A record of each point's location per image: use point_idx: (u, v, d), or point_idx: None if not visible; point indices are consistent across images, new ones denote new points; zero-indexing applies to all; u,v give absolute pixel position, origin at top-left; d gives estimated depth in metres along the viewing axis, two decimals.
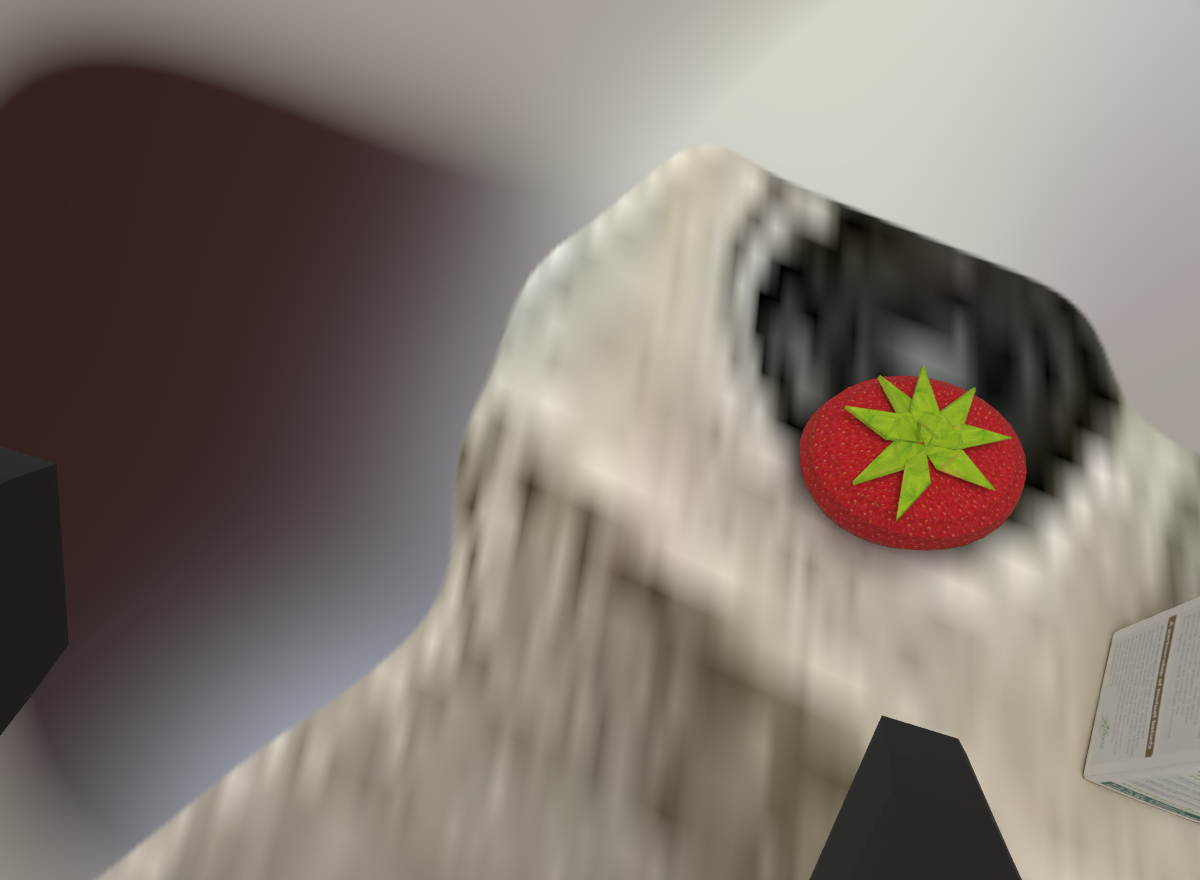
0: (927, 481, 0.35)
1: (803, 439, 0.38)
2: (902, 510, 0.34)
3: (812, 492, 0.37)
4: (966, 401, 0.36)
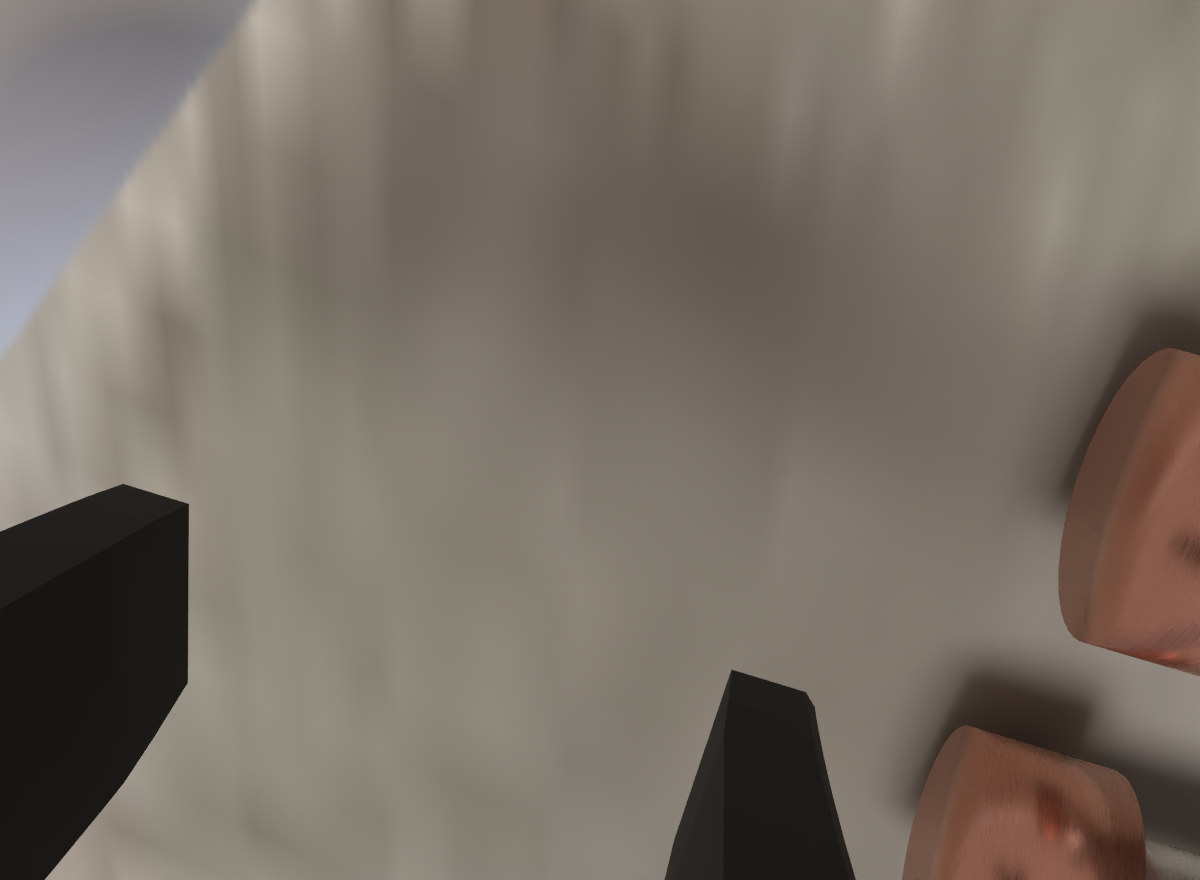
0: None
1: None
2: None
3: None
4: None
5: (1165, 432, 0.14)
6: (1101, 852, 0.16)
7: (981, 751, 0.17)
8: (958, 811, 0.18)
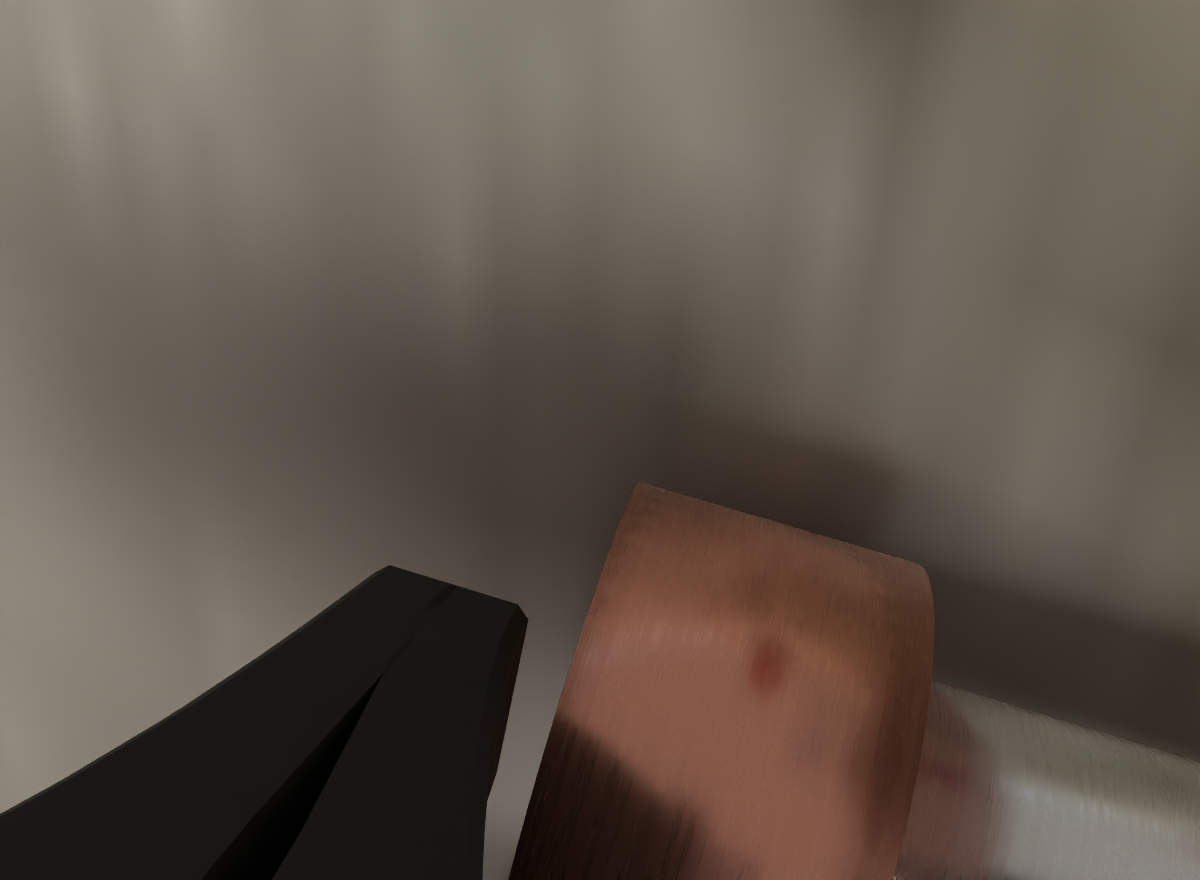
0: None
1: None
2: None
3: None
4: None
5: None
6: None
7: None
8: None
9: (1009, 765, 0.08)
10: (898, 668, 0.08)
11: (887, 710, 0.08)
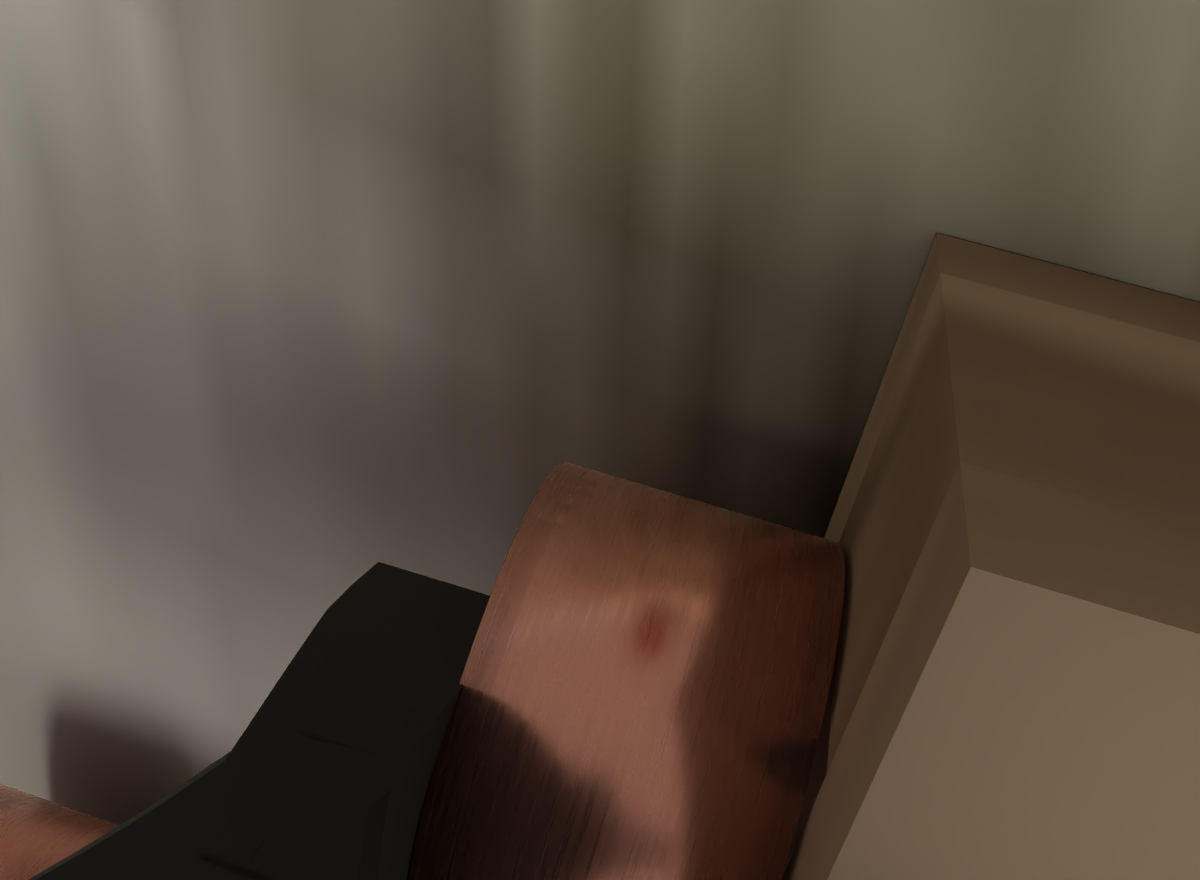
0: None
1: None
2: None
3: None
4: None
5: None
6: None
7: None
8: None
9: None
10: (802, 642, 0.08)
11: (789, 684, 0.08)
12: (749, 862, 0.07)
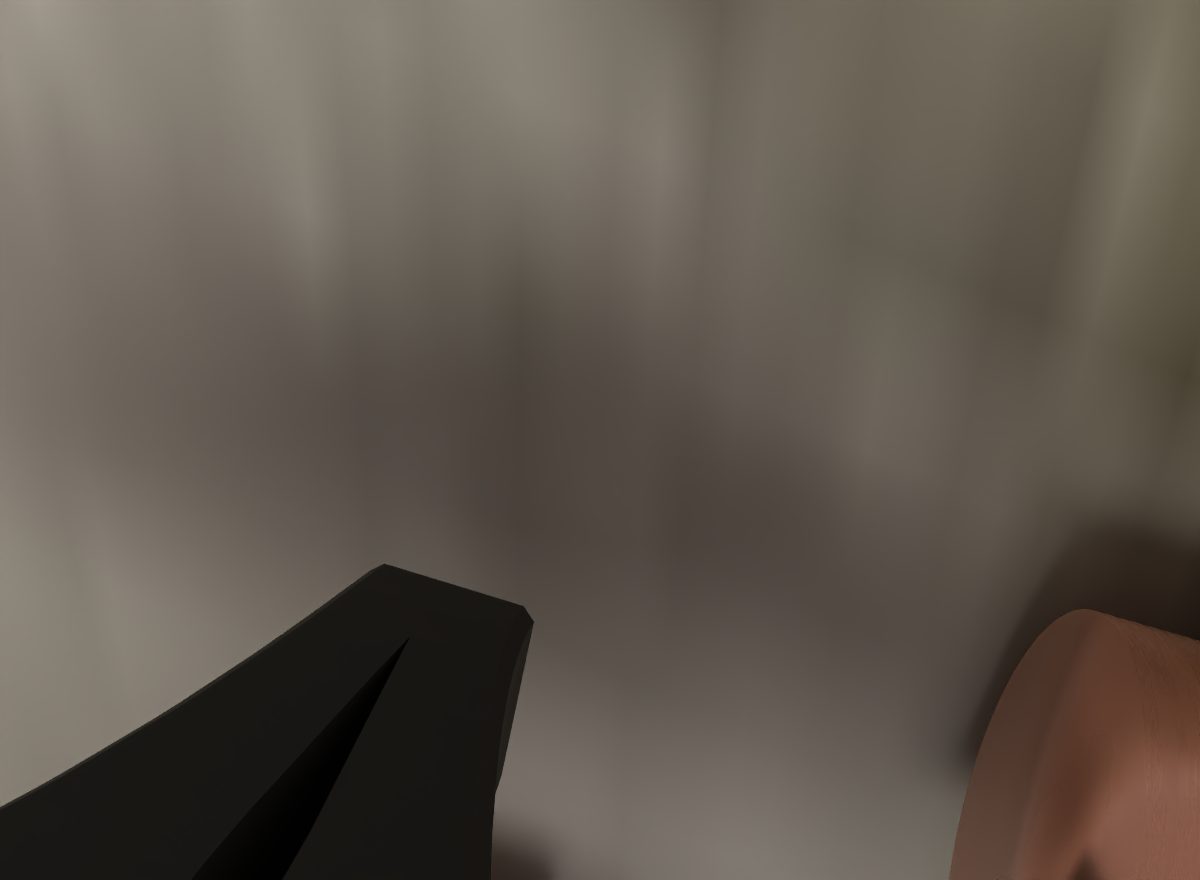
0: None
1: None
2: None
3: None
4: None
5: (1091, 778, 0.08)
6: None
7: None
8: None
9: None
10: None
11: None
12: None
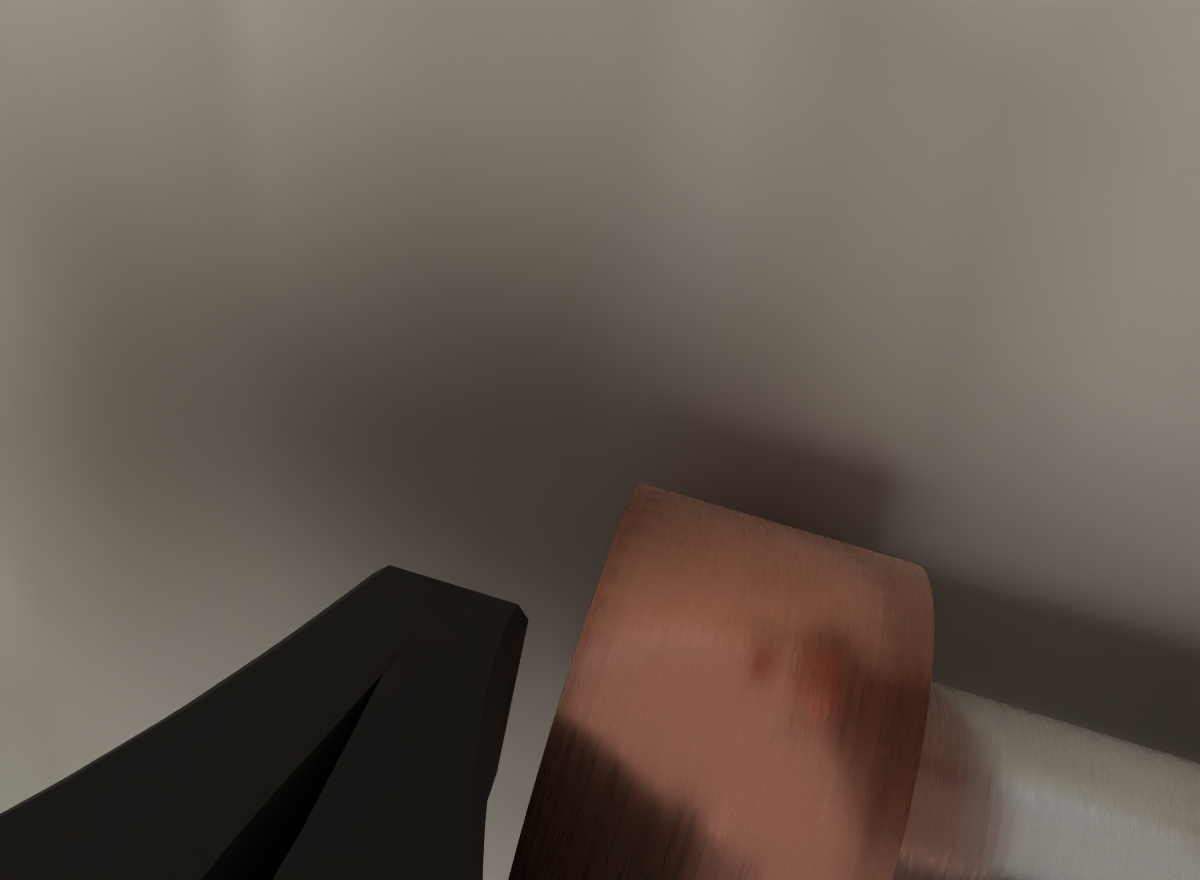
0: None
1: None
2: None
3: None
4: None
5: None
6: (834, 690, 0.08)
7: (627, 505, 0.09)
8: None
9: None
10: None
11: None
12: None
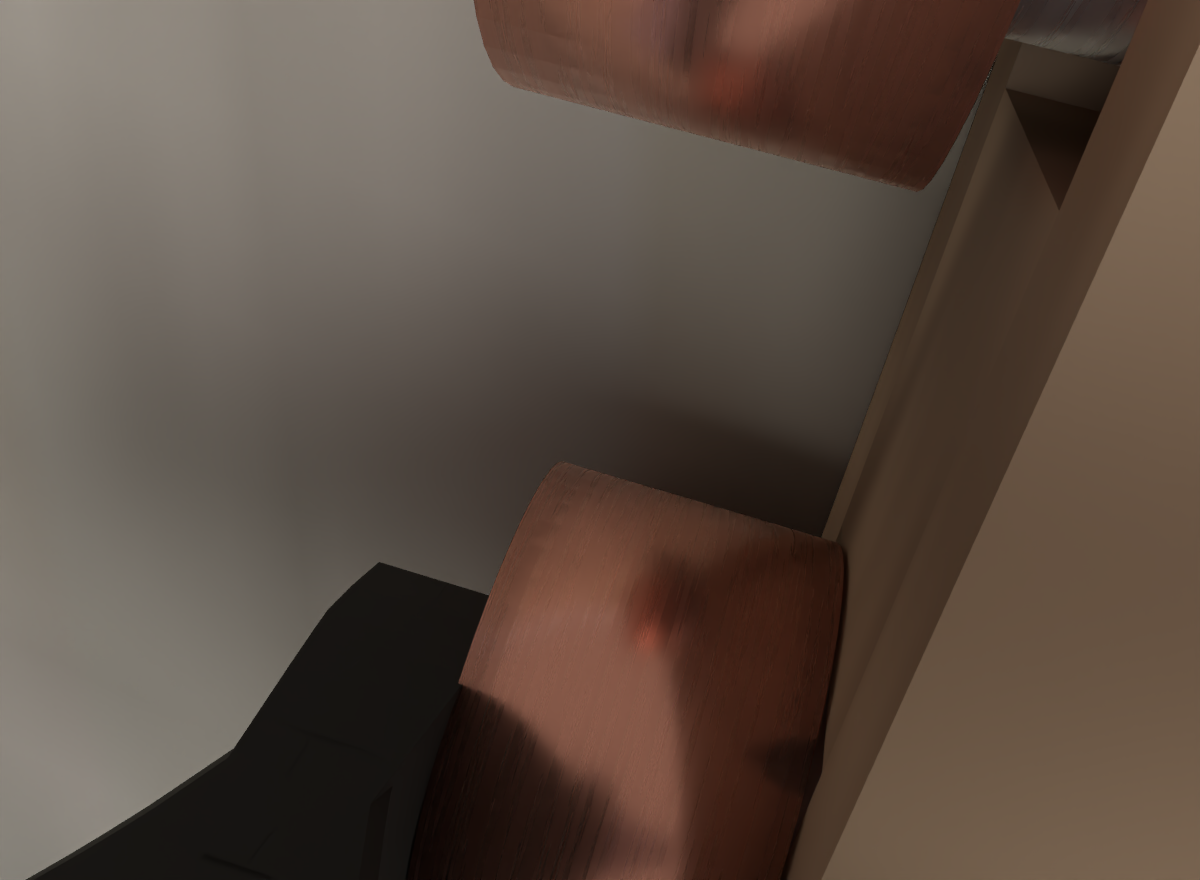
0: None
1: None
2: None
3: None
4: None
5: None
6: (735, 662, 0.08)
7: (542, 483, 0.09)
8: None
9: None
10: None
11: None
12: None
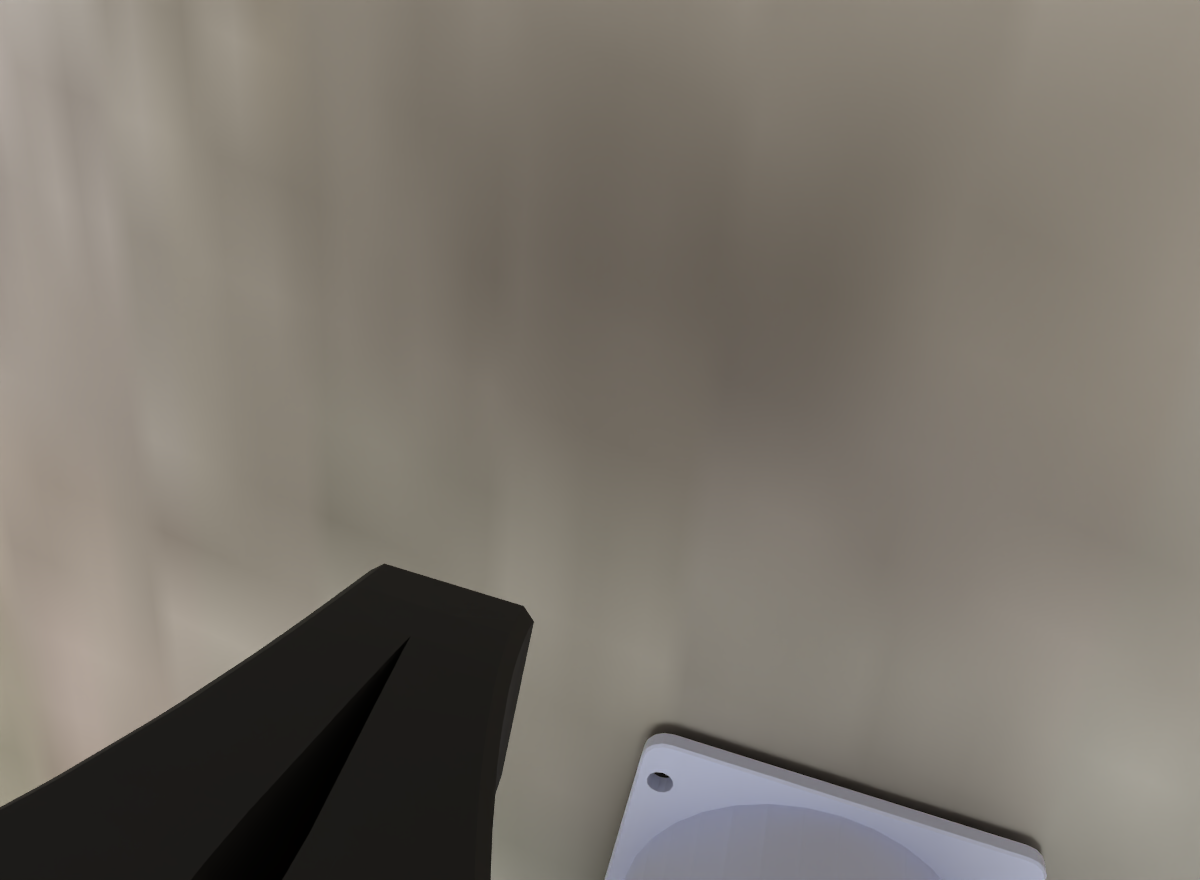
0: None
1: None
2: None
3: None
4: None
5: None
6: None
7: None
8: None
9: None
10: None
11: None
12: None
